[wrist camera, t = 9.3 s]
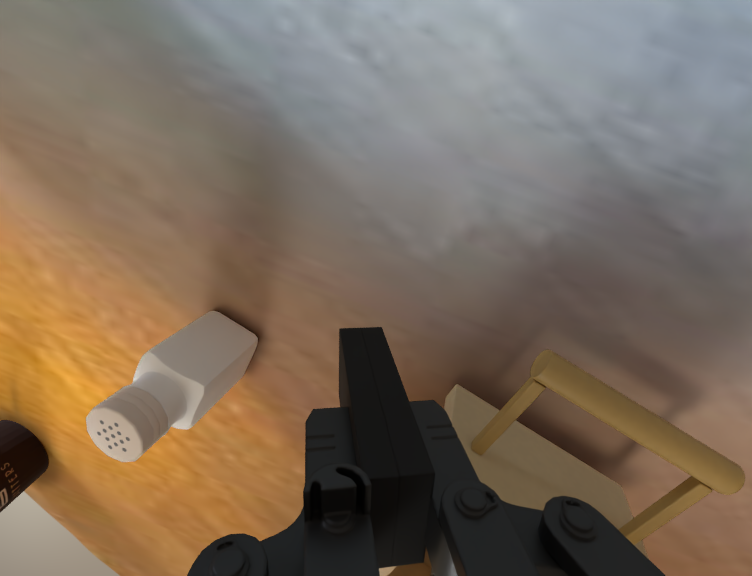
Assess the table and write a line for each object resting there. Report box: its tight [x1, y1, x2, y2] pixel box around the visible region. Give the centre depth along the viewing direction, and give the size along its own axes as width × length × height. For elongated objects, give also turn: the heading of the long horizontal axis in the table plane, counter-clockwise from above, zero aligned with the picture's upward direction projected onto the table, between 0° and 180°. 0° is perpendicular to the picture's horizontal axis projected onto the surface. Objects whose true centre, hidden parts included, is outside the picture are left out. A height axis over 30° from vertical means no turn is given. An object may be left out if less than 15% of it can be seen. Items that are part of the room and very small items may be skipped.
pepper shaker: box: [86, 311, 258, 462], centre depth 23 cm, size 4×4×10 cm
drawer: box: [379, 350, 745, 576], centre depth 22 cm, size 20×11×7 cm, turn 151°
